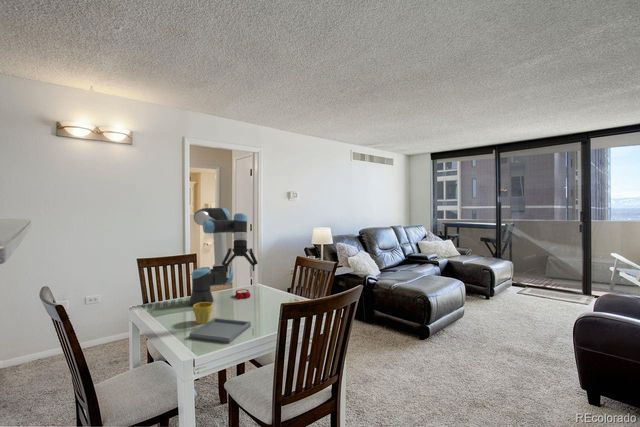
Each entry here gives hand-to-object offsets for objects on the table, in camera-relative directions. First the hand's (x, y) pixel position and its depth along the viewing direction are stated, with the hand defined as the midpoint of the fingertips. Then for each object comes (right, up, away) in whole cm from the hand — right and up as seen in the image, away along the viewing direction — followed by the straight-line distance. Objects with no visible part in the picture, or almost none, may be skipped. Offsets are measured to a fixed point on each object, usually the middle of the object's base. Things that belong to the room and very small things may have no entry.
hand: (239, 277), depth 178 cm
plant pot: (-21, -25, -1) cm, 33 cm away
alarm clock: (-10, -24, +48) cm, 55 cm away
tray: (-6, -25, -15) cm, 30 cm away
